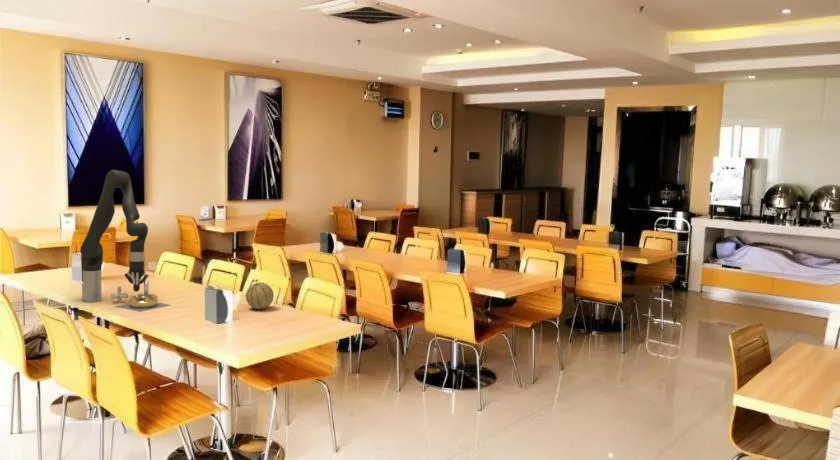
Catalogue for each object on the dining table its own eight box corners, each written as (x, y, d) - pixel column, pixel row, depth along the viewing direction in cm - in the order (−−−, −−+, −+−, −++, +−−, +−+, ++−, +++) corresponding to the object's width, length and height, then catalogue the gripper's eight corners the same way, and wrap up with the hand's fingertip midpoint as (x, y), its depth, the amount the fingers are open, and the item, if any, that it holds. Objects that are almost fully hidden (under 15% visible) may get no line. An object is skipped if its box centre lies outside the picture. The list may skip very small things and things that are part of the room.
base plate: (114, 309, 345) (114, 305, 345) (146, 302, 363) (146, 299, 363) (140, 314, 336) (140, 311, 336) (171, 307, 353) (171, 304, 353)
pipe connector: (133, 303, 359) (133, 286, 358) (120, 307, 350) (120, 289, 349) (118, 302, 362) (118, 284, 361) (105, 305, 352) (104, 287, 351)
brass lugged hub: (126, 304, 350) (126, 282, 349) (153, 301, 359) (153, 279, 358) (133, 309, 339) (133, 286, 338) (161, 306, 348) (161, 284, 347)
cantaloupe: (278, 307, 364) (278, 281, 363) (265, 313, 350) (265, 285, 349) (254, 304, 368) (254, 278, 367) (240, 310, 354) (240, 283, 353)
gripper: (121, 259, 348) (121, 291, 350) (145, 261, 348) (145, 293, 350) (128, 257, 356) (127, 289, 358) (152, 259, 355) (151, 290, 357)
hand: (136, 291), depth 354 cm, fingers closed
